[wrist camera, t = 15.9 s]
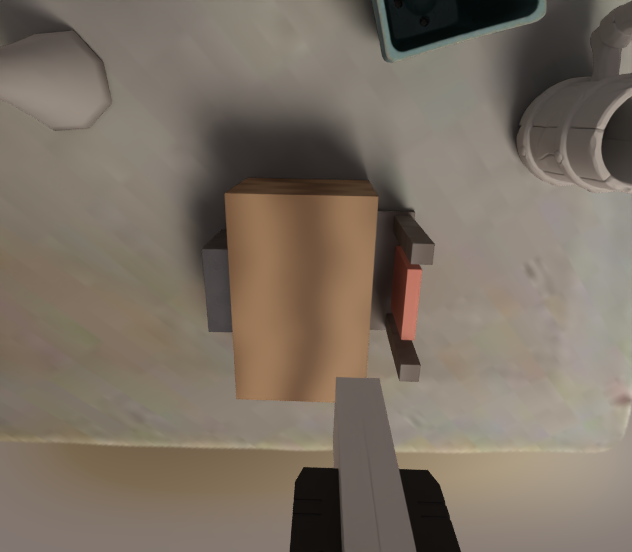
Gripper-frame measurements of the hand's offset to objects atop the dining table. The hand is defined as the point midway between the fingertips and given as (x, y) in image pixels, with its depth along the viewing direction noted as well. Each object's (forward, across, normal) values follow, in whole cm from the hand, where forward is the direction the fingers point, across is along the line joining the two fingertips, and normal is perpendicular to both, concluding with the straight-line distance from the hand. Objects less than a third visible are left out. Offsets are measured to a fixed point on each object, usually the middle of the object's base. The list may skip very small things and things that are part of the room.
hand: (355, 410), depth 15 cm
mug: (+23, +17, +11) cm, 31 cm away
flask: (+24, -22, +12) cm, 34 cm away
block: (+23, 0, -3) cm, 23 cm away
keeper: (+22, +5, -3) cm, 23 cm away
